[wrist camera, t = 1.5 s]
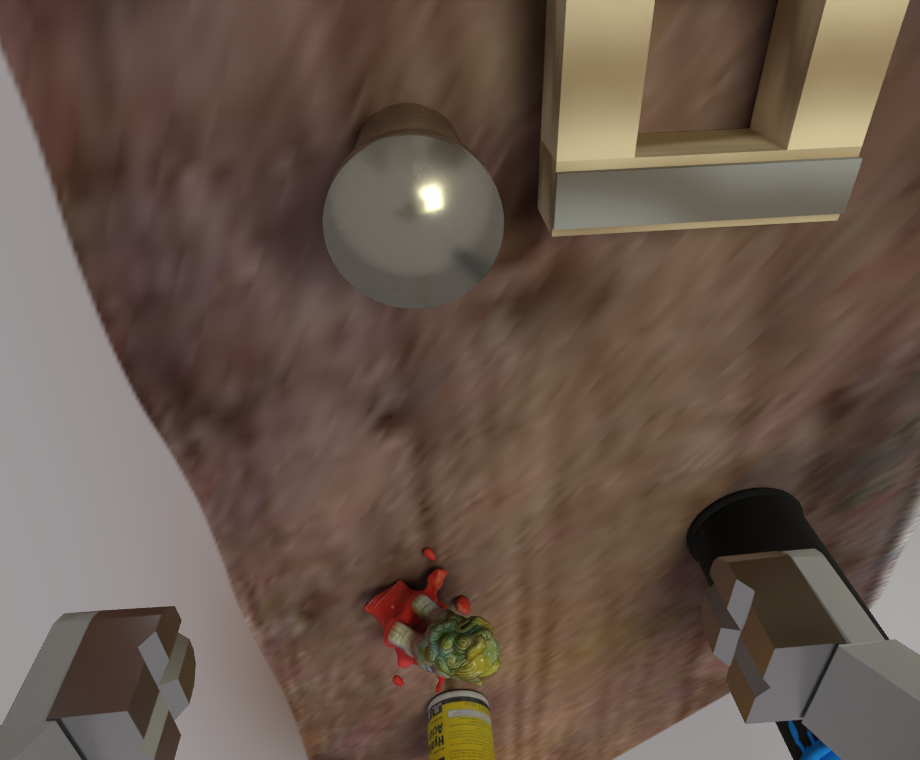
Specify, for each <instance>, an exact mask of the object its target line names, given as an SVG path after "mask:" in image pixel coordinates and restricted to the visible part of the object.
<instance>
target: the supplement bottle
mask: <svg viewBox="0 0 920 760" xmlns="http://www.w3.org/2000/svg"><path fill="white" fill-rule="evenodd" d="M427 717H428V747H429V760H495V753H494V744H493V735H492V726H491V717H490V709H489V704H488V701H487V699H486V698H485V697H484V696H483V695H481V694H480V693H477V692H474V691H469V690H455V691H449V692H446V693H443V694H440V695H438V696H437V697H435V698H434V699H433V700H432V701H431V703H430V704H429V706H428V715H427Z"/></svg>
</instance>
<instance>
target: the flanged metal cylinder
mask: <svg viewBox="0 0 920 760" xmlns="http://www.w3.org/2000/svg"><path fill="white" fill-rule="evenodd" d="M503 231H504V215H503V208H502V203H501V200H500V197H499V194H498V191H497V188H496V186H495V183H494V181H493V179H492V177H491V175H490V173H489V171H488V170H487V168H486V167H485V165H484V164H483V162H482V161H481V160H480V159H479V158H478V157H477V156H476V155H475V153H473V152H472V151H471V150H470V149H469V148H467V147H466V146H465V145H463V144H462V143H461V141H460V138H459V136H458V134H457V132H456V130H455V129H454V127H453V126H452V125H451V123H450V122H449V121H448V120H447V119H446V118H445V117H444V116H442V115H441V114H440V113H438V112H437V111H435V110H433V109H431V108H429V107H427V106H423V105H420V104H414V103H402V104H396V105H392V106H389V107H386V108H384V109H382V110H380V111H379V112H377V113H376V114H374V115H373V116H372V117H371V118H370V119H369V120H368V121H367V122H366V123H365V125H364V126H363V127H362V129H361V131H360V133H359V135H358V137H357V140H356V143H355V147H354V150H353V151H352V152H351V153H350V154H349V155H348V156H347V157H346V158H345V159H344V160H343V162H342V163H341V164H340V166H339V167H338V169H337V170H336V172H335V174H334V176H333V178H332V180H331V183H330V186H329V189H328V192H327V196H326V201H325V206H324V211H323V234H324V239H325V243H326V247H327V250H328V252H329V255H330V257H331V259H332V261H333V263H334V265H335V267H336V268H337V269H338V271H339V272H340V274H341V275H342V276H343V277H344V278H345V279H346V280H347V282H348V283H349V284H351V285H352V286H353V287H354V288H355V289H356V290H358V291H359V292H361V293H362V294H364V295H365V296H367V297H369V298H371V299H373V300H375V301H377V302H380V303H382V304H385V305H389V306H393V307H397V308H406V309H422V308H430V307H435V306H439V305H442V304H445V303H448V302H451V301H453V300H455V299H457V298H459V297H461V296H462V295H464V294H465V293H467V292H468V291H470V290H471V289H472V288H473V287H474V286H476V285H477V284H478V283H479V282H480V281H481V280H482V279H483V277H484V276H485V275H486V274H487V272H488V271H489V270H490V268H491V267H492V265H493V263H494V261H495V259H496V257H497V255H498V252H499V250H500V247H501V243H502V238H503Z"/></svg>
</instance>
